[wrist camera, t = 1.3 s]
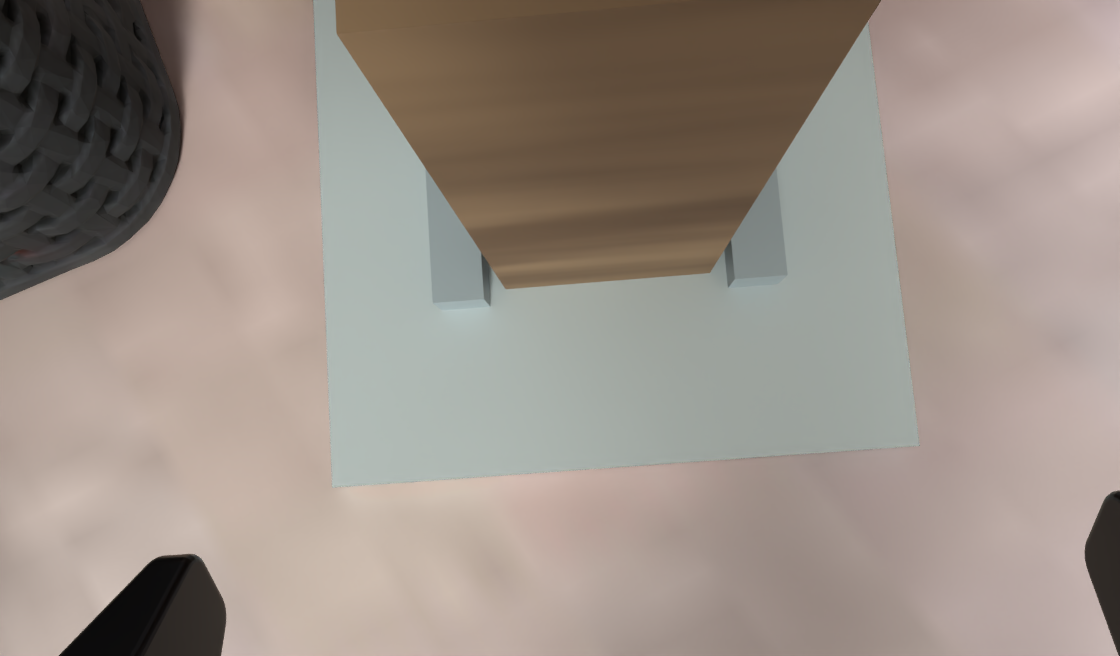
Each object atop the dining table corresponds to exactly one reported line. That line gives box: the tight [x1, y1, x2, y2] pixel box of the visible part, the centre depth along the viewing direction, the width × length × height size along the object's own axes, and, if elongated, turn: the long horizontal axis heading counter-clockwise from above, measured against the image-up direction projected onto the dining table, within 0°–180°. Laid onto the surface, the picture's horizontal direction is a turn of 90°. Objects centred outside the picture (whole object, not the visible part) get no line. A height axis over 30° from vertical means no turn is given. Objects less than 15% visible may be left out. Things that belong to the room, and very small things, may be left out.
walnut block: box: [335, 0, 881, 289], centre depth 15 cm, size 5×5×14 cm
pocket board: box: [313, 0, 920, 488], centre depth 22 cm, size 14×14×2 cm
